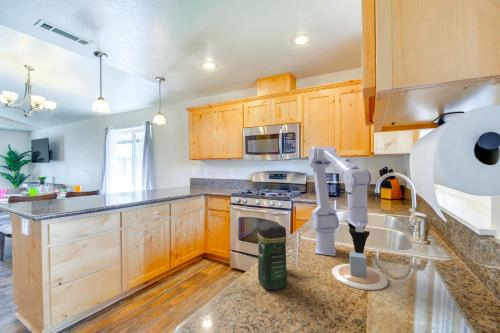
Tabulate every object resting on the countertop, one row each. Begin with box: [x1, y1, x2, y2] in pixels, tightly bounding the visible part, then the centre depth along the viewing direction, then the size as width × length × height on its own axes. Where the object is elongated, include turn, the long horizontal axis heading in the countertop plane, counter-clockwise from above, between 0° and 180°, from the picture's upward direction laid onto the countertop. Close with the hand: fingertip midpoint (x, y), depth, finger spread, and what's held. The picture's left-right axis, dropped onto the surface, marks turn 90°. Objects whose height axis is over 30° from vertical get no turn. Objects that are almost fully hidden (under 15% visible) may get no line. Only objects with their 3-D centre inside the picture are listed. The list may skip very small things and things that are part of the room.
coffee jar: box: [257, 220, 288, 291], centre depth 69 cm, size 10×8×19 cm
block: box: [349, 251, 368, 278], centre depth 72 cm, size 4×4×6 cm
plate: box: [331, 263, 389, 291], centre depth 72 cm, size 16×16×1 cm
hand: (358, 248), depth 72 cm, fingers open, 7 cm apart
